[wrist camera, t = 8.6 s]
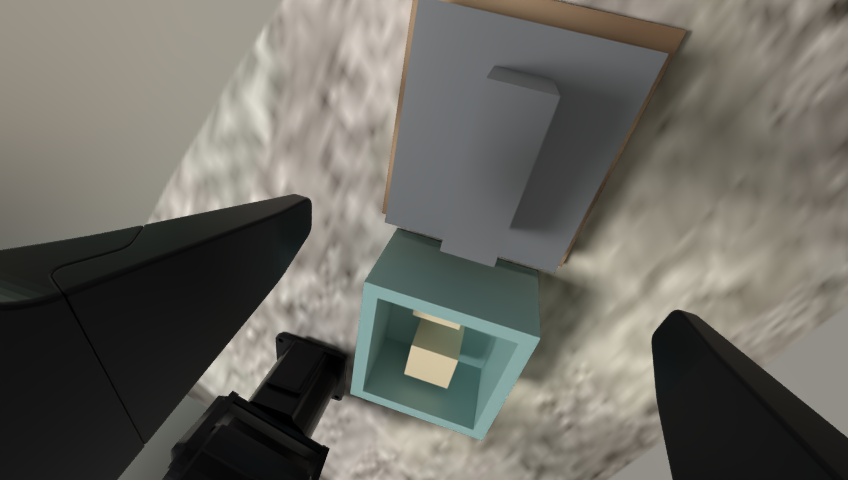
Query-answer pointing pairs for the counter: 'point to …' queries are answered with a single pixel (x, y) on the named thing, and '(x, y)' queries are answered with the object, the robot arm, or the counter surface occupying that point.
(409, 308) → the storage box
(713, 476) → the robot arm
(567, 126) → the lid
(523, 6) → the walnut board
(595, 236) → the counter surface
